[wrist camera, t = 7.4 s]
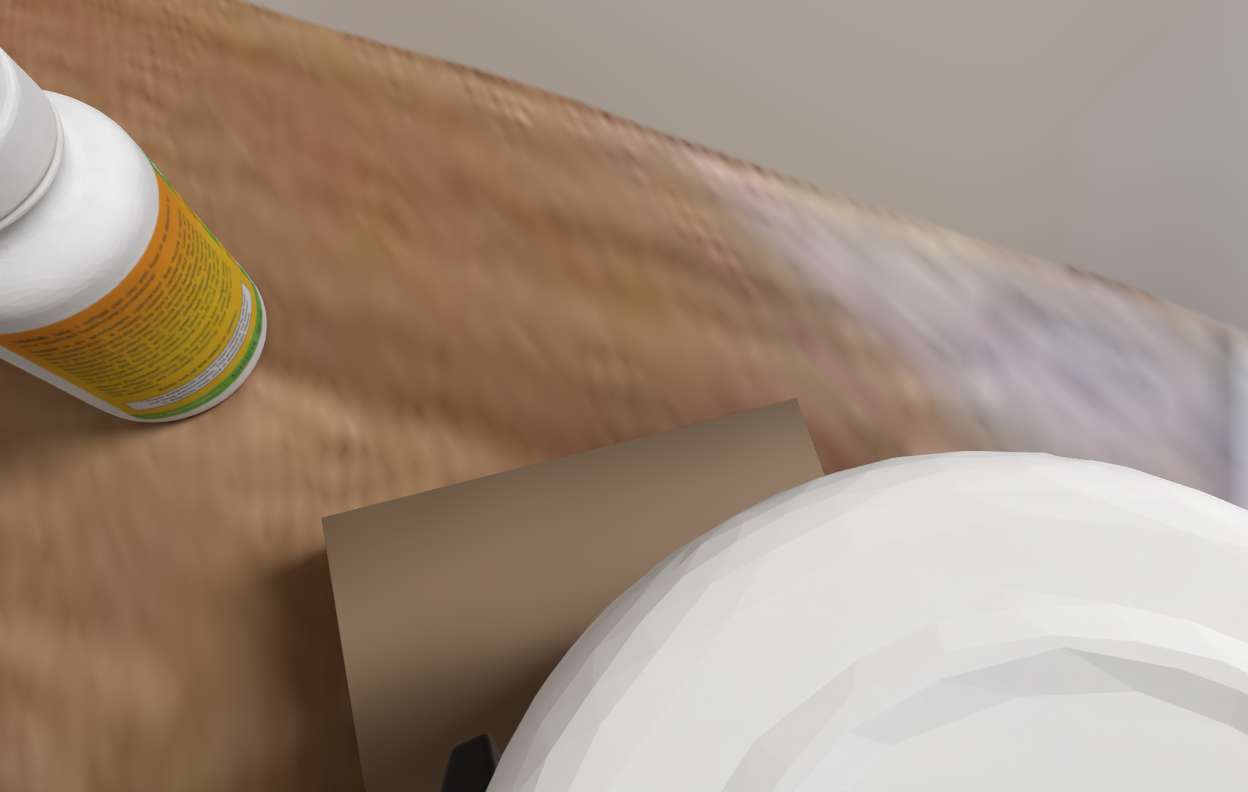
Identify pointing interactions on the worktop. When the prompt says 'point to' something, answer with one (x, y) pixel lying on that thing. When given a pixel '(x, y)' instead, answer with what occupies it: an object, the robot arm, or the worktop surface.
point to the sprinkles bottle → (919, 643)
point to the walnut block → (524, 576)
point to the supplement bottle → (112, 267)
